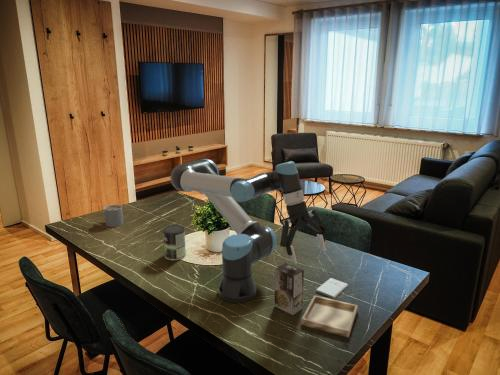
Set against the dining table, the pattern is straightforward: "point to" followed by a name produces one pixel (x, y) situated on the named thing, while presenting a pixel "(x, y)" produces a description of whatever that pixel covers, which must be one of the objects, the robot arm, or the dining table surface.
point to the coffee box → (289, 288)
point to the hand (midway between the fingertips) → (309, 256)
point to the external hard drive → (332, 288)
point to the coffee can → (174, 242)
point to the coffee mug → (113, 215)
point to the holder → (330, 316)
